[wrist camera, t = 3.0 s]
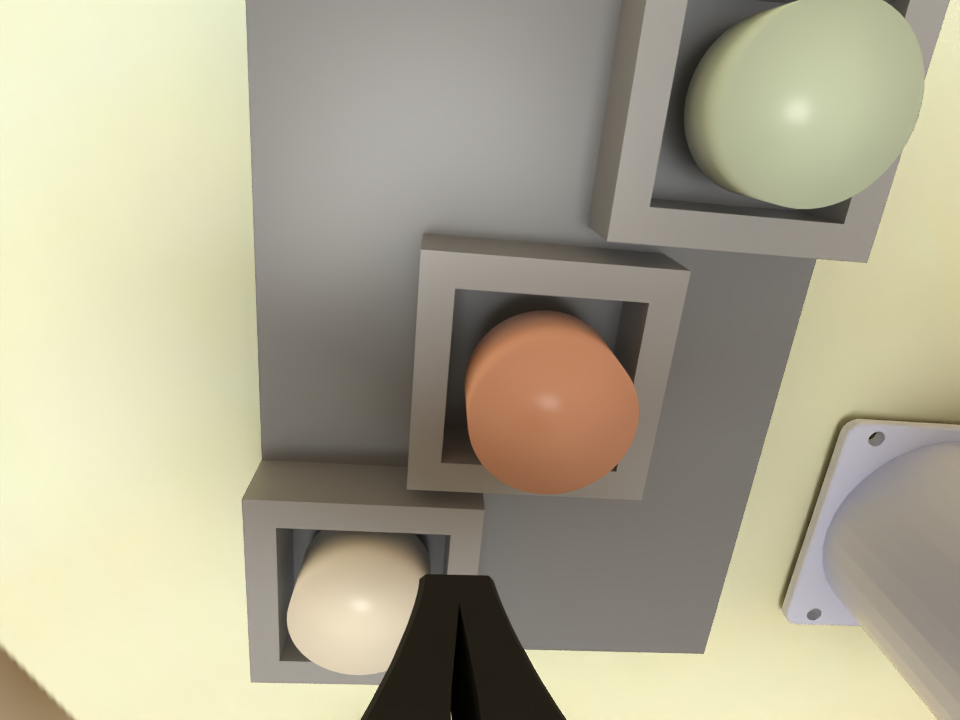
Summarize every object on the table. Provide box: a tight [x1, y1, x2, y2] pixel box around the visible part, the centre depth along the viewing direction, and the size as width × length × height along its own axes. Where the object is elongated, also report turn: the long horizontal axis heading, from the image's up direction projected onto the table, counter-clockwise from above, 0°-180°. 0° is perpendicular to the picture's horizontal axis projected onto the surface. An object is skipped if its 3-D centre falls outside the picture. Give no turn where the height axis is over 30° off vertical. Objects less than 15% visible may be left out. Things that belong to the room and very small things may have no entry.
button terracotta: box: [464, 310, 639, 494], centre depth 14 cm, size 4×4×2 cm
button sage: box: [684, 0, 924, 209], centre depth 12 cm, size 4×4×2 cm
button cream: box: [287, 530, 431, 675], centre depth 17 cm, size 4×4×2 cm
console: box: [242, 0, 950, 685], centre depth 17 cm, size 14×20×4 cm
